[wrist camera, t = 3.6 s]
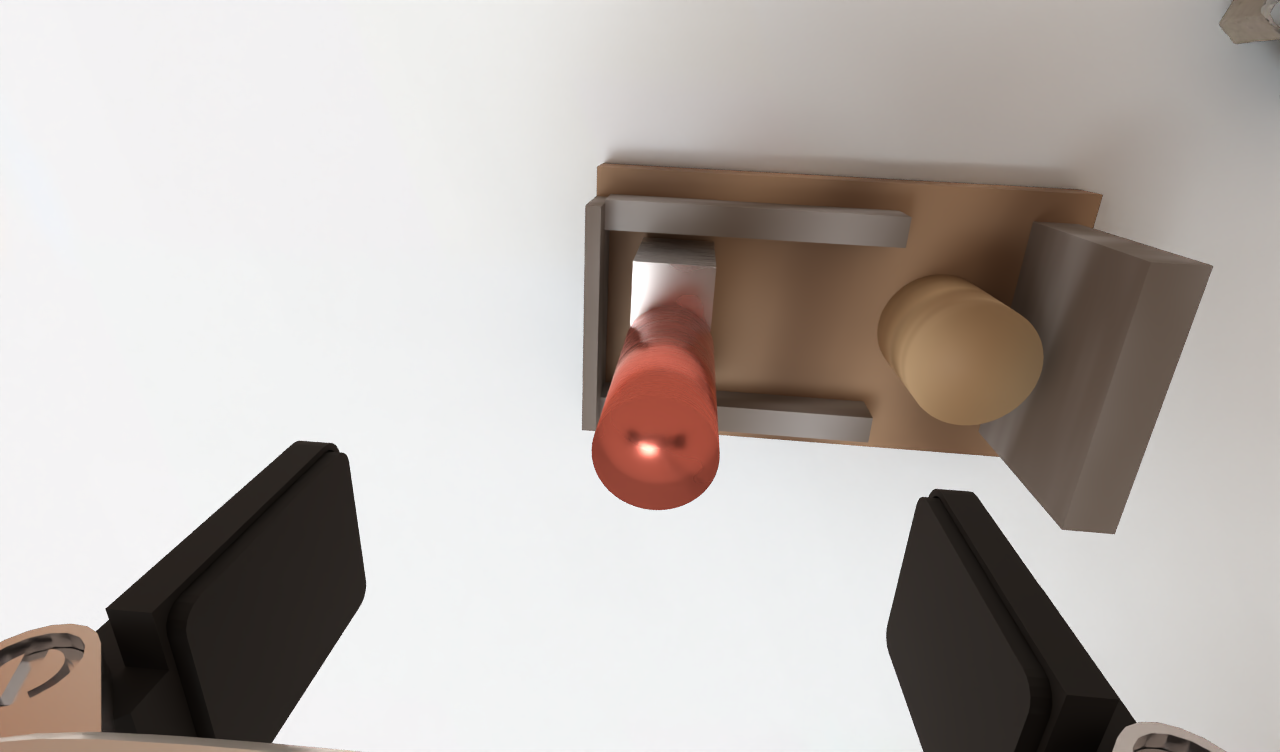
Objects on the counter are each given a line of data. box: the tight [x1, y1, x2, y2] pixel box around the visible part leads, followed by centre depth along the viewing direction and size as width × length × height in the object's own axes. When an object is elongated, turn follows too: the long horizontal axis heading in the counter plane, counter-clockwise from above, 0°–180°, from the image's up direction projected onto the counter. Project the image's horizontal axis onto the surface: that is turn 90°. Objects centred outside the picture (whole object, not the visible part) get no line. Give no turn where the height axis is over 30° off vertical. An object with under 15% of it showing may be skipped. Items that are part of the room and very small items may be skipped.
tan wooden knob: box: [877, 274, 1044, 425], centre depth 23 cm, size 4×4×4 cm
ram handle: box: [592, 237, 720, 510], centre depth 20 cm, size 3×5×11 cm, turn 178°
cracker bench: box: [582, 163, 1213, 534], centre depth 23 cm, size 17×10×8 cm, turn 88°
